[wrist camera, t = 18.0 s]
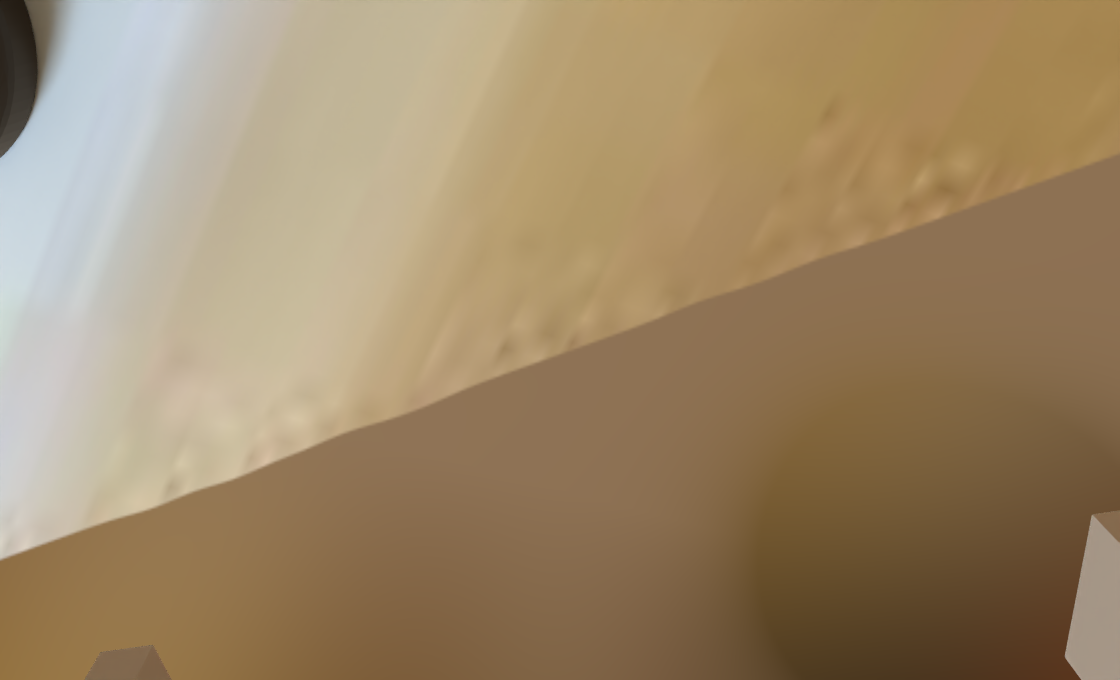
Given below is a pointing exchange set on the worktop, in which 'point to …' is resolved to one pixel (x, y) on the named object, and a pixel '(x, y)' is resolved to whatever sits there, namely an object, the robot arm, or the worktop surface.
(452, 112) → the worktop surface
